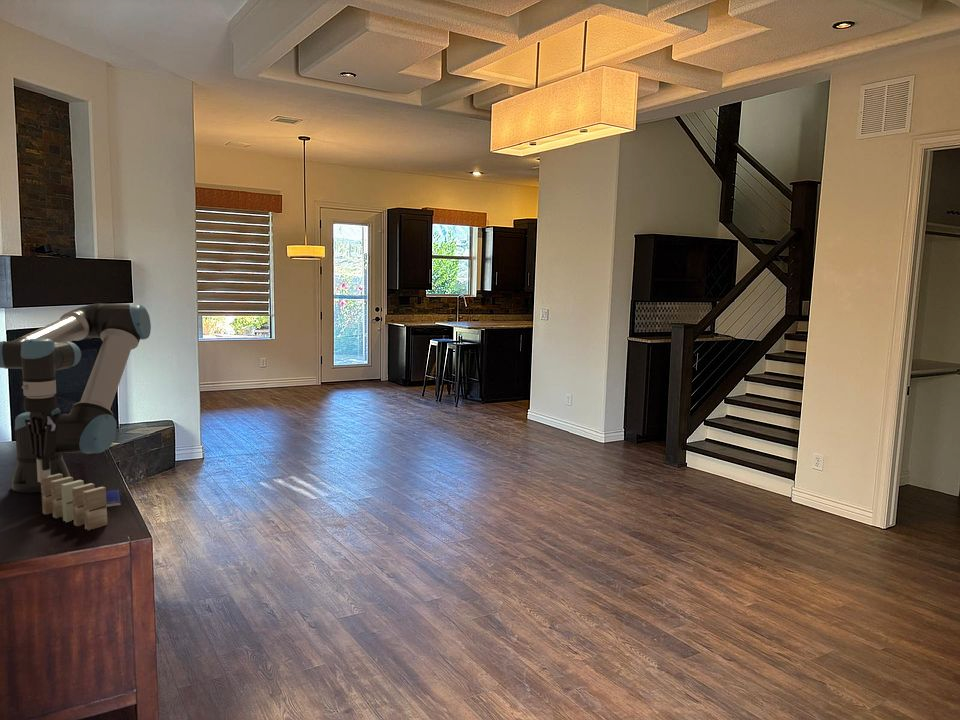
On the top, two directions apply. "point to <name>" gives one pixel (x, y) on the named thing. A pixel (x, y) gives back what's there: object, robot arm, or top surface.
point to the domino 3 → (69, 499)
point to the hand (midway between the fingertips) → (44, 480)
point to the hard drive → (112, 498)
